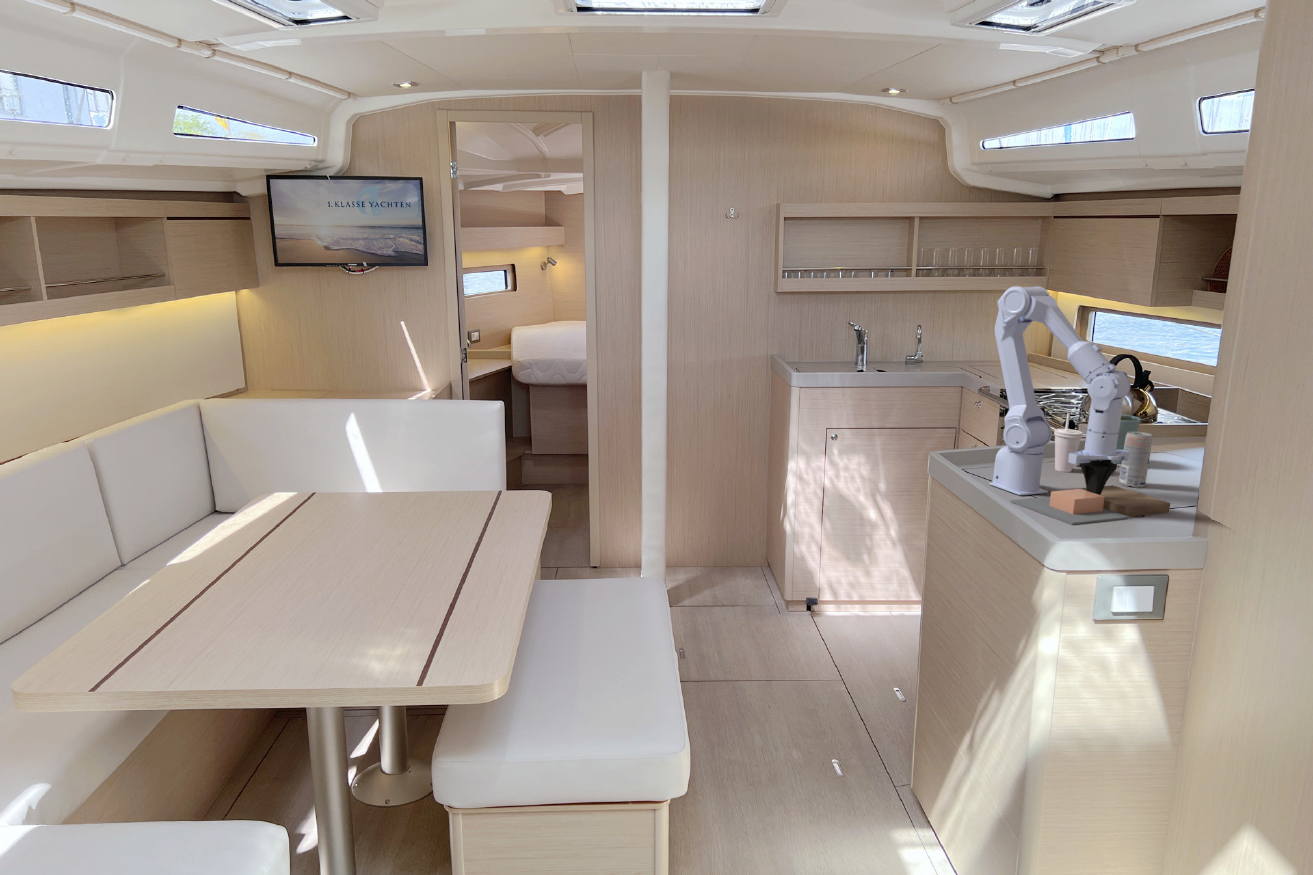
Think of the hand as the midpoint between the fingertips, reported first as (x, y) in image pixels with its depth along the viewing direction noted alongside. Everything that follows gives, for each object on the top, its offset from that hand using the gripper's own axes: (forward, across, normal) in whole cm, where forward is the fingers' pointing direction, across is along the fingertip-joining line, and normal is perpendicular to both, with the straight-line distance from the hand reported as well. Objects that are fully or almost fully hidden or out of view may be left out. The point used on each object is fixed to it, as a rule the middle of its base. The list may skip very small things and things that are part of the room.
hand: (1093, 496), depth 182 cm
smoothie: (+3, +21, +27) cm, 34 cm away
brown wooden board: (+2, +8, 0) cm, 8 cm away
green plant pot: (+3, +40, +30) cm, 50 cm away
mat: (+2, -6, 0) cm, 7 cm away
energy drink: (+3, +26, +12) cm, 28 cm away
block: (+2, -5, 0) cm, 5 cm away
